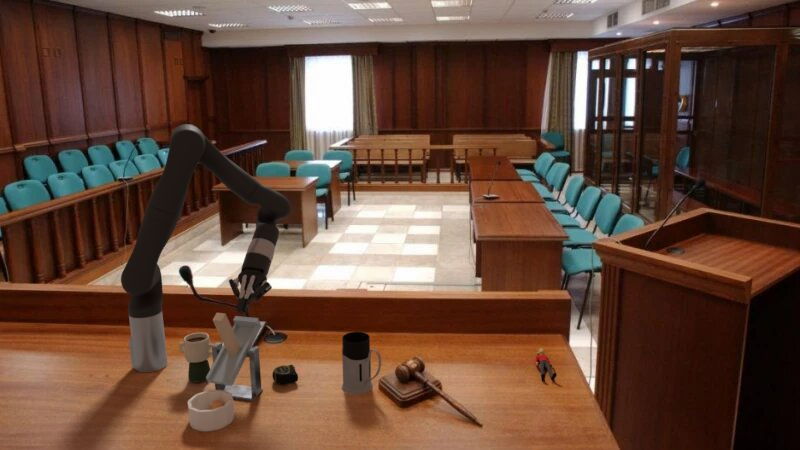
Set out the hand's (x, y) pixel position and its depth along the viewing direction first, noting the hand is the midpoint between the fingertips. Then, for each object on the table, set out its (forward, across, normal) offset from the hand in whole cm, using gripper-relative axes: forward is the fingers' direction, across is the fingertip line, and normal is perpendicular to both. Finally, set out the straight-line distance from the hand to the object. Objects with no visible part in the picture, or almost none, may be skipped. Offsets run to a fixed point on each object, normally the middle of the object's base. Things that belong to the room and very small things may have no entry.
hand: (240, 313), depth 174 cm
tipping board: (+10, 0, +4) cm, 11 cm away
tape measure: (+12, +10, +20) cm, 25 cm away
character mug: (+15, -15, +16) cm, 27 cm away
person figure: (-7, +80, +40) cm, 90 cm away
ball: (+26, 0, +3) cm, 27 cm away
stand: (+19, 0, +12) cm, 22 cm away
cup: (+28, 0, +3) cm, 29 cm away
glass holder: (+12, +33, +20) cm, 40 cm away
